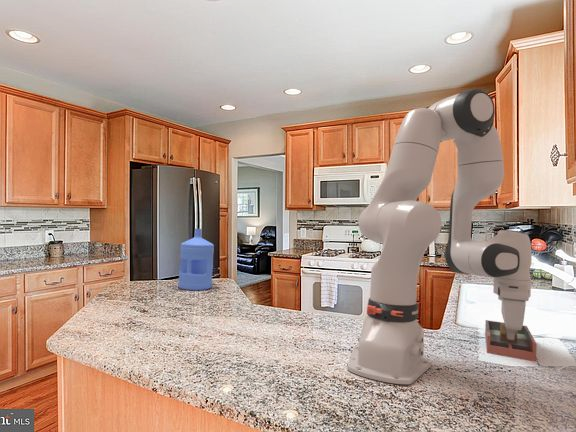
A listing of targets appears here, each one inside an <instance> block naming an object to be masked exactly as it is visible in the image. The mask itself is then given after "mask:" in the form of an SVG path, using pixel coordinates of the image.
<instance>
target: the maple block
mask: <svg viewBox="0 0 576 432" xmlns="http://www.w3.org/2000/svg"><path fill="white" fill-rule="evenodd" d="M499 322H500V339H501V340H507V341H513V342H517V330H515V339H514V340H509V339H507V336H506V327H505V323H504V322H503V323H501V321H499Z"/></svg>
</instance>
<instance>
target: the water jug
mask: <svg viewBox="0 0 576 432" xmlns="http://www.w3.org/2000/svg"><path fill="white" fill-rule="evenodd" d="M202 230H203V229H202V228H195V229H194V236H193V237H192V238H190V239H188V240H186V241H184V242H181V243H180V247H179V248H180V251H179V252H180V253H179V257H180V262H179V263H180V265H179V272H178V273H179V275H178V282H177V284H178V285H177V286H178V288H179V289H181V290H185V291H206V290H209V289H212V287H213V270H214V254H215V253H214V251H215V249H214V247H215V245H214V244H213V243H212V242H210V241H208V240H206V239H204V238H203V237H202Z"/></svg>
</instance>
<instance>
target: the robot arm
mask: <svg viewBox="0 0 576 432" xmlns="http://www.w3.org/2000/svg"><path fill="white" fill-rule="evenodd" d="M495 109H496V108H495V103H494V100H493V98H492V97H491V95H490V94H488V92H487V91H485V90H484V89H481V88H471V89H467V90H462V91H461V92H460V93H456V94H454V95H451V96H448V97H445V98H442V99H440V100H439V101H437V102H434V103H433V104H432V105H429V106H427V107H418V108H415V109H412V110H410V111H409V112H408V113H406V114H405V116H404V118H403V119H402V122H401V124H400V125H399V129H398V131H397V133H396V136H395V139H394V142H393V146H392V149H391V153H390V157H389V160H388V162H387V163H388V164H387V167H386V171H385V173H384V176H383V178H382V180H381V182H380V184H379V186H378V189H377V190H376V191H375V194H374V196H373V198H372V199H371V201H369V203H368V205H367V206H366V208H364V209H363V210H362V211H361V213H360V214H359V217H358V227H359V230H360V233H361V235H363V236H364V237H365V238H366V239H368V240H370V241H372V242H374V243H376V244H382V249H381V253H380V255H379V258H378V259H377V261H376V262H375V263H374V264H373V265H372V267H371V271H370V292H369V293H370V295H369V297H368V302H367V304H366V305H367V306H366V314H367V316H365V317H364V318H363V322H362V323H363V324H362V327H361V332H360V336H358V339H357V341H358V345H354V346H353V349H352V351H351V355H350V357H349V360H348V363H347V371H349V372H351V373H353V374H355V375H357V376H361V377H362V378H363V377H364V378H367V379H370V380H371V379H372V380H375V381H379V382H384V383H388V384H389V383H390V384H397V385H412V384H413V383H414V382H415V381H417V379H418V378H420V377H421V376H422V375H423V374H424V373H425V372H427V370H428V369H430V368H431V367H432V361H431V360H430V359H428V358H426V357H425V355H424V354H425V353H424V352H425V351H424V348H425V344H424V343H425V342H424V341H425V339H424V338H425V336H424V333H425V331H424V327H422V326H421V324H420V322H419V321H418V320H417V319H418V318H419V317H418V316H419V315H418V314H419V304H418V303H417V294H418V293H417V292H418V291H417V290H418V278H419V277H418V276H419V270H420V265H421V264H422V260H423V258H424V255H425V252H426V251H427V249H428V248H429V246H430V245H431V244H432V243H433V242H434V241H436V240H437V239H438V237H439V235H440V232H441V229H442V218H441V215H440V214H439V211H438V210H437V208H436V207H434V206H433V205H432V204H429V203H428V202H427V203H426V202H423V201H419V200H417V199H418V198H419V196H420V195H421V194H422V193H423V192H424V191H425V190H426V189H427V188H428V186H429V185H430V184H431V182H432V178H433V173H434V170H435V166H436V161H437V157H438V154H439V149H440V143H443V142H446V141H451V140H453V142H454V145H455V147H456V149H457V153H456V154H457V155H456V156H457V157H456V158H457V160H456V161H457V162H456V163H457V179H456V183H455V187H454V189H453V191H452V193H451V197H450V205H449V223H448V224H449V226H448V239H447V244H446V246H445V253H444V257H445V263H446V265H447V266H448V268H449V269H450V270H451V271H452V272H453V273H456V274H459V275H460V274H461V275H473V276H480V277H486V278H493V290H492V291H493V294H495V295H497V296H498V300H499V301H501V310H500V311H501V315H502V319H503V323H505V327H506V336H507V339H509V340H514V339H515V330H521V329H522V326H523V325H524V321H525V314H526V313H525V312H526V306H527V304H526V303H527V302H529V300H530V298H531V295H532V294H531V291H532V290H531V289H532V288H531V287H532V286H531V285H532V278H531V274H530V273H531V272H530V270H531V267H532V243H531V239H530V237H529V235H528V234H526V233H525V232H524V231H523V232H522V231H520V230H519V231H518V230H511V229H502V230H499V231H498V232H497V233H496V235H495V236H493V237H491V238H490V239H486V240H484V241H483V240H481V241H478V240H473V238H472V224H473V223H472V221H473V219H472V218H473V213H474V209H475V207H476V206H477V204H479V203H480V202H482V201H483V200H485V199H487V198H489V197H490V196H492V195H493V194H495V192H496V191H497V190H499V188H501V186H502V184H503V182H504V177H505V166H504V153H503V149H502V143H501V139H500V136H499V133H498V132H499V131H498V130H497V128H496V127H495V125H494V122H495V121H494V120H495V116H496V115H495V114H496V113H495V111H496V110H495Z"/></svg>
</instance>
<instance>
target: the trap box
mask: <svg viewBox="0 0 576 432" xmlns="http://www.w3.org/2000/svg"><path fill="white" fill-rule="evenodd" d="M500 322H501V321H495V320H488V319H485V327H484V328H485V329H484V336H485V346H486V353H487V354H493V355H499V356H505V357H508V358H509V357H510V358H517V359H521V360H525V361H526V360H527V361H531V362H537V346H538V345H537V342H536V339H535V338H534V336H533V335H532V333H531V331H530V329H529V328H528V326H527V325H525V324H523V326H522V329H521V330H517V342H513V341H507V340H501V339H500ZM501 323H504V321H503V322H501Z"/></svg>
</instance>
